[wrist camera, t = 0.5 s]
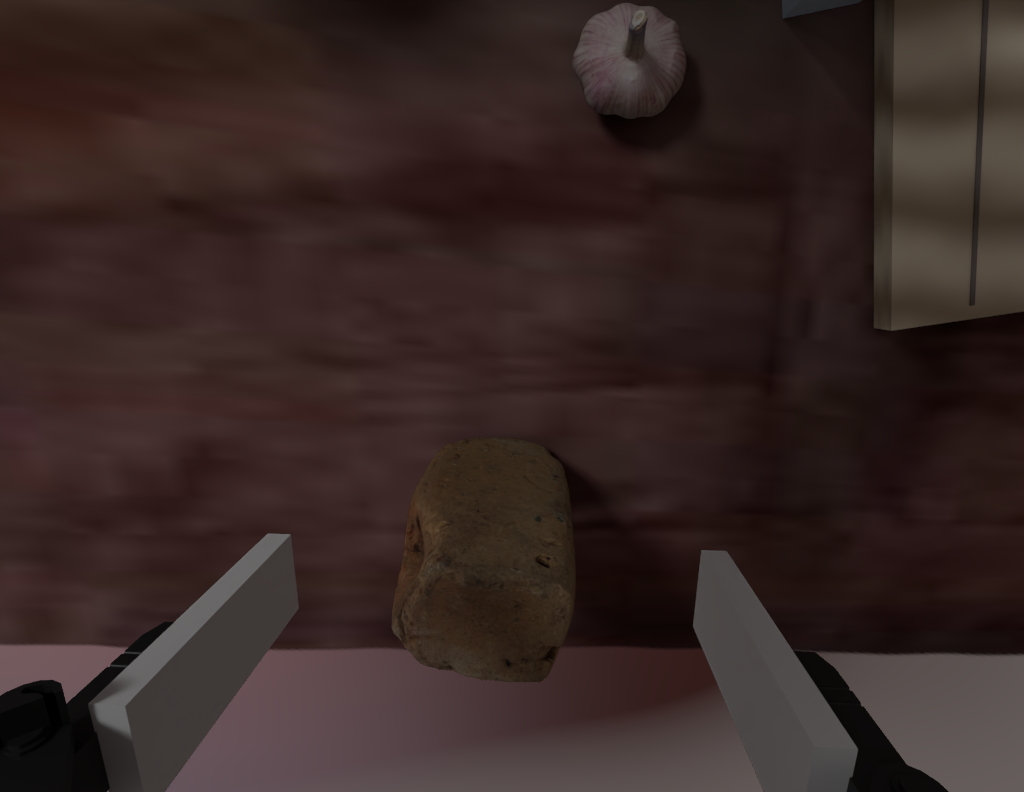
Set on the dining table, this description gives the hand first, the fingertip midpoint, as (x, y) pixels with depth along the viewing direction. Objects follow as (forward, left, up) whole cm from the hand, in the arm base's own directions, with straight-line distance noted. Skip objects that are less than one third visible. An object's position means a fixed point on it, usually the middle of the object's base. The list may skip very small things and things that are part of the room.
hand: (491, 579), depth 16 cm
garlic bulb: (-22, +11, -27) cm, 36 cm away
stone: (+7, -3, -27) cm, 28 cm away
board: (-16, +34, -27) cm, 46 cm away
